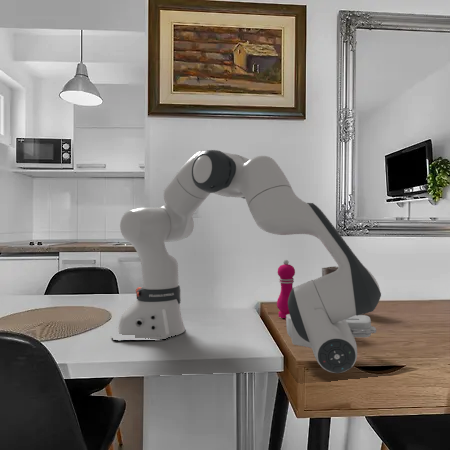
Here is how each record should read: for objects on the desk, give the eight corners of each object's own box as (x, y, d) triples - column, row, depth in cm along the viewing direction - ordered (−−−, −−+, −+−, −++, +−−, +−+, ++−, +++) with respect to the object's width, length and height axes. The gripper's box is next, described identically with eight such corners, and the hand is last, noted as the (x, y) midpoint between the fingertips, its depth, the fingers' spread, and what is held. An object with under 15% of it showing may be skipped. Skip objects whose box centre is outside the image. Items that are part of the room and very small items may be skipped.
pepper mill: (298, 320, 128) (296, 260, 127) (276, 319, 129) (274, 261, 129) (298, 314, 135) (296, 258, 135) (277, 314, 136) (276, 258, 136)
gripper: (377, 318, 84) (366, 304, 98) (284, 317, 88) (286, 304, 102) (378, 347, 84) (367, 329, 98) (285, 344, 88) (287, 327, 102)
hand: (325, 316), depth 100 cm, fingers open, 8 cm apart
